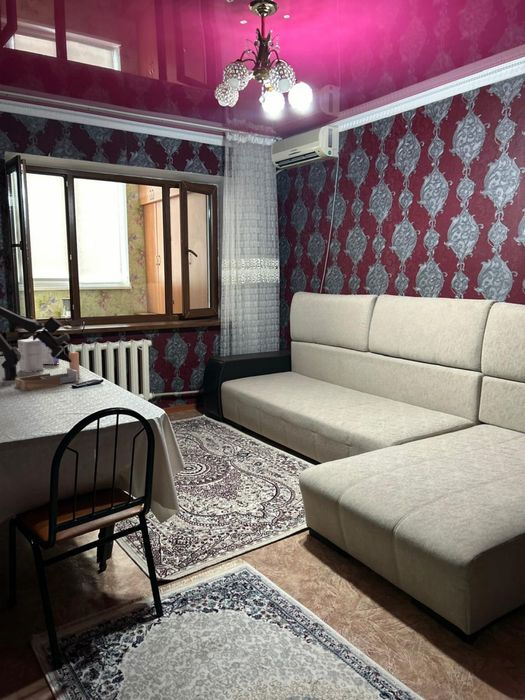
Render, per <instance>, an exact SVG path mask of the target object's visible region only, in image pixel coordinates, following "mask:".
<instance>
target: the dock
mask: <svg viewBox="0 0 525 700" xmlns="http://www.w3.org/2000/svg"><path fill="white" fill-rule="evenodd" d="M50 375H51V372H50V373H49V372H48V373H41V374H35V375H28V376H21V377H20V378H15V379H14V383H15V385H14V386H15V388H18V389H21V390H22V389H23V390H22V391H24V392H27V390H28V391H33V389H35V390H40V389H39V388H41V389H46V387H47V388H51V386H53V387H59V386H61V384H62V383H61V380H60V377H55V378H48V379H42V380H40V377H44V376H50ZM58 385H59V386H58Z"/></svg>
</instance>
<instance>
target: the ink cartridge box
mask: <svg viewBox="0 0 525 700" xmlns="http://www.w3.org/2000/svg"><path fill="white" fill-rule="evenodd" d="M41 344H42V358H43V364H53V365H52V366H55V365H54V364H57V363H59V364H60V361H59V360H60V359H57V358H56V357H57V355H56V356H55V357H54V358H53V357H52V356H51V352H52V350H51V349H50V348H48V347H46V346H45V343H42V342H41ZM57 365H58V364H57Z"/></svg>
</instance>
